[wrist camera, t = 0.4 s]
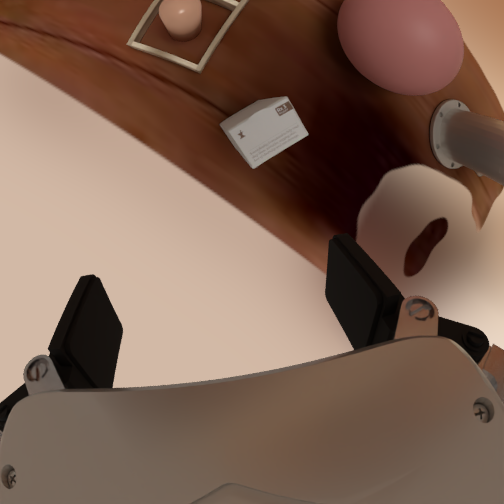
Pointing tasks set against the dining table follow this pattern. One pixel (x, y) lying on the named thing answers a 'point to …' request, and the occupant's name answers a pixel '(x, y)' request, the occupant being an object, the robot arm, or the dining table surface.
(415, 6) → the balloon
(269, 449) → the robot arm
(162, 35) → the dining table surface
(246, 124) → the skincare box
